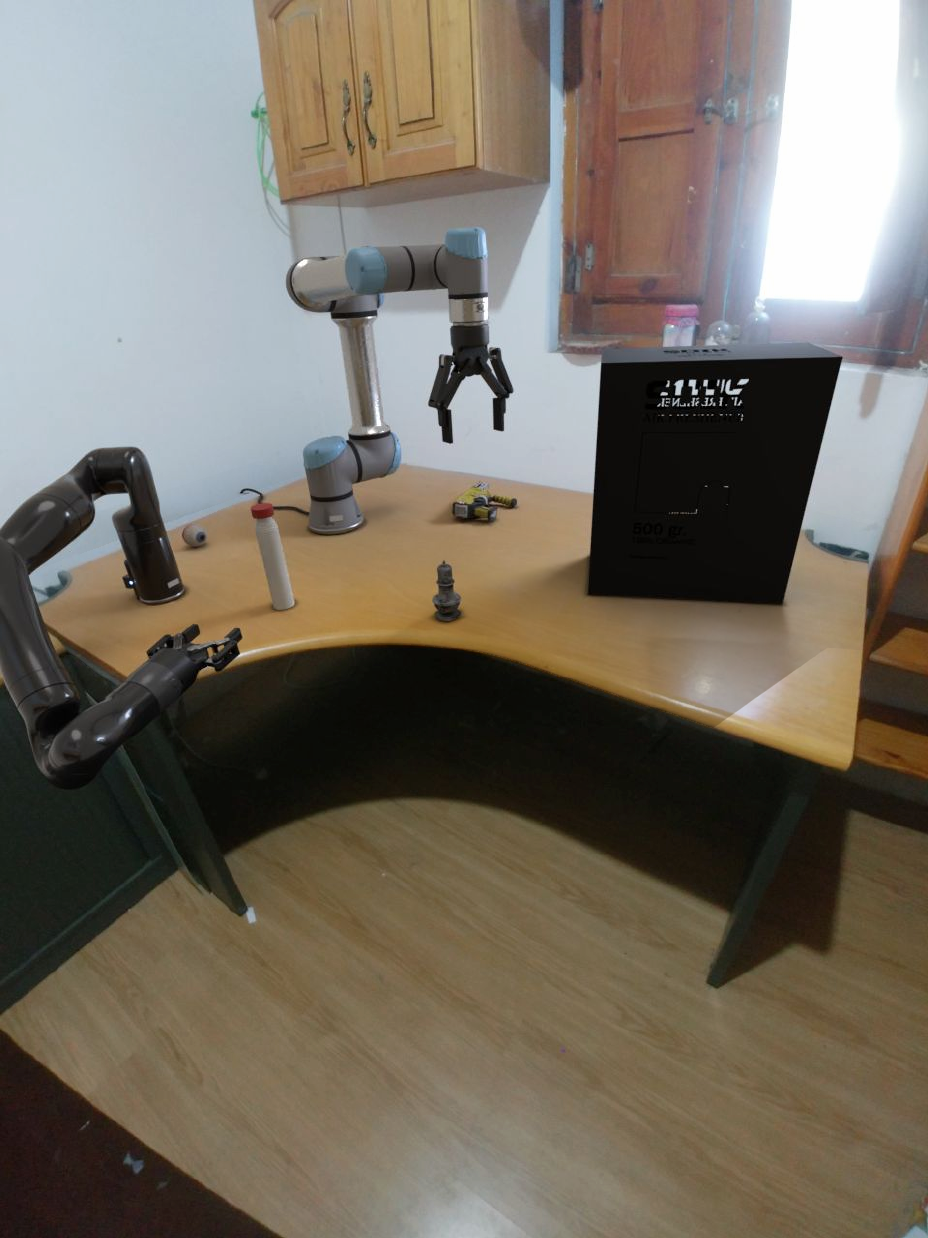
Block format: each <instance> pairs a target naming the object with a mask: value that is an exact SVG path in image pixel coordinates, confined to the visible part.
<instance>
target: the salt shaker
mask: <svg viewBox="0 0 928 1238" xmlns="http://www.w3.org/2000/svg"><path fill="white" fill-rule="evenodd" d="M436 573H437V574H436V575H437V579H436V582H435V583H436V585H437V587H438V588H437V589H438V590H437V591H438V593H437V594H435V595H434V596H433V597H432V598H431V601H432V604H433V605H434V606H433V607H434V608H435V609H436V611H435V613H434V617H435V618H436V620H439V621H443V622H449V621H451V622H452V621H455V620H458V618H460V617H461V615H462V612H461V610H460V609H459V607H460V604H461V601H462V596H461V595H460V594H459V593H458V592H455V589H454V584H455V579H454V578H453V567H452V565H450V564H449V563H447V562H446V560H443V561H442V562H441V564H439V565H438V566H437V568H436Z"/></svg>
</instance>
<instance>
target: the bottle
mask: <svg viewBox="0 0 928 1238" xmlns="http://www.w3.org/2000/svg"><path fill="white" fill-rule="evenodd" d="M254 531H255V535H256V539H257V544H258V548H259V552H260V557H261V560H262V566H263V569H264V573H265V578H266V582H267V585H268V589H269V590H268V591H269V594H270V598H271V602H272V606H273V609H275V610H278V611H284V610H289V609H290V608H292V607H294V606H295V604H296V603H295V598H294V594H293V590H292V584H291V580H290V576H289V570H288V566H287V562H286V557H285V553H284V548H283V544H282V540H281V539H282V538H281V534H280V530H279V526H278V523H277V522H276V520H275V519H274V518H273V516H271V517H268V518H264V519H256V520H255V525H254Z"/></svg>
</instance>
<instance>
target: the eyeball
mask: <svg viewBox="0 0 928 1238" xmlns="http://www.w3.org/2000/svg"><path fill="white" fill-rule="evenodd" d="M181 537H182V540H183V541H184V543H185V544H186V545H188V546H190V547H193V548H198V547H201V546H203V545H204V544H205V543H206V541H207V539H208V533H207V531H206V529H205V528H204V527H203V526H202V525H200V524H198V523H190V524H188V525H186V526H185V527H184V528H183V529H182V533H181Z"/></svg>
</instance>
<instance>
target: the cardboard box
mask: <svg viewBox="0 0 928 1238" xmlns="http://www.w3.org/2000/svg"><path fill="white" fill-rule="evenodd" d="M843 358H844V356H842V355H840V354H838V353H835V352H832V351H830V350H828V349H825V348H824V347H823V348H822V347H820V346H818V345H815V344H813V343H810V342H777V343H776V342H775V343H774V342H773V343H744V344H743V343H741V344H716V345H715V344H713V345H711V344H709V345H684V346H683V345H679V346H676V345H675V346H650V347H649V346H648V347H647V346H646V347H617V348H616V347H615V348H614V347H613V348H602V349H601V359H600V373H599V374H600V375H599V389H598V390H599V391H598V392H599V393H598V408H597V411H598V412H597V426H596V442H595V457H594V459H595V461H594V477H593V478H594V479H593V496H592V512H591V527H590V547H589V561H588V562H589V563H588V579H587V580H588V581H587V595H588V596H589V595H590V596H610V597H631V598H649V599H650V598H651V599H667V600H687V601H688V600H689V601H707V602H708V601H709V602H728V603H729V602H730V603H746V604H747V603H751V604H768V605H783V604H784V601H785V597H786V591H787V588H788V583H789V580H790V575H791V573H792V567H793V563H794V558H795V555H796V551H797V547H798V543H799V537H800V534H801V530H802V526H803V522H804V517H805V514H806V509H807V506H808V501H809V497H810V495H811V494H810V493H811V489H812V486H813V481H814V477H815V472H816V469H817V464H818V460H819V455H820V452H821V448H822V445H823V440H824V435H825V432H826V428H827V423H828V420H829V415H830V411H831V407H832V403H833V399H834V395H835V391H836V386H837V382H838V378H839V374H840V370H841V366H842V362H843ZM742 380H747V381H746V382H745V383H743V384H742V383H741V384H739V383H740V382H741V381H742ZM679 381H682V385H681V388H680V394H676V393H677V392H676V391H677V382H679ZM690 381H695V383H694V386H693V385H690ZM705 381H707V384H706V385H704V384H705ZM728 382H729V388H728V391H729V392H734V390H740V391H739V392H738V393H736V394H735V393H733V394H731V393H730V394H729V393H727V390H726V388H727V384H728ZM693 389H694V390H697V393H696V394H693ZM707 390H708V391H713V394H707ZM663 393H666V394H663Z"/></svg>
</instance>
